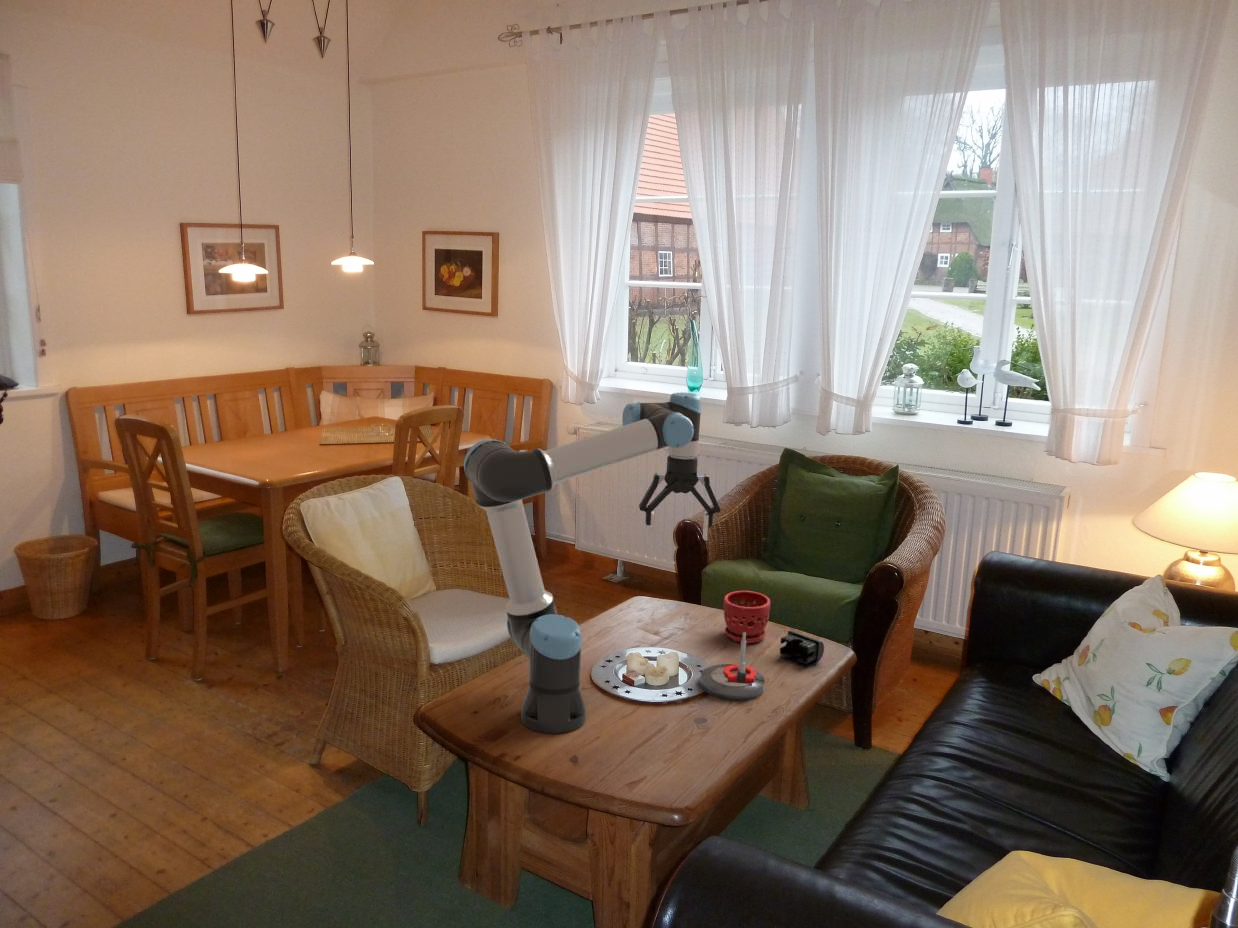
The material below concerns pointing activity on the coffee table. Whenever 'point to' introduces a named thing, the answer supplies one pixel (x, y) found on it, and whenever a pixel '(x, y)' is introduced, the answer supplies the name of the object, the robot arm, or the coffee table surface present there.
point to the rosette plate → (730, 684)
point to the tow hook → (741, 667)
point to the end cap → (801, 649)
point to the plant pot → (746, 615)
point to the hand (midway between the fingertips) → (678, 538)
